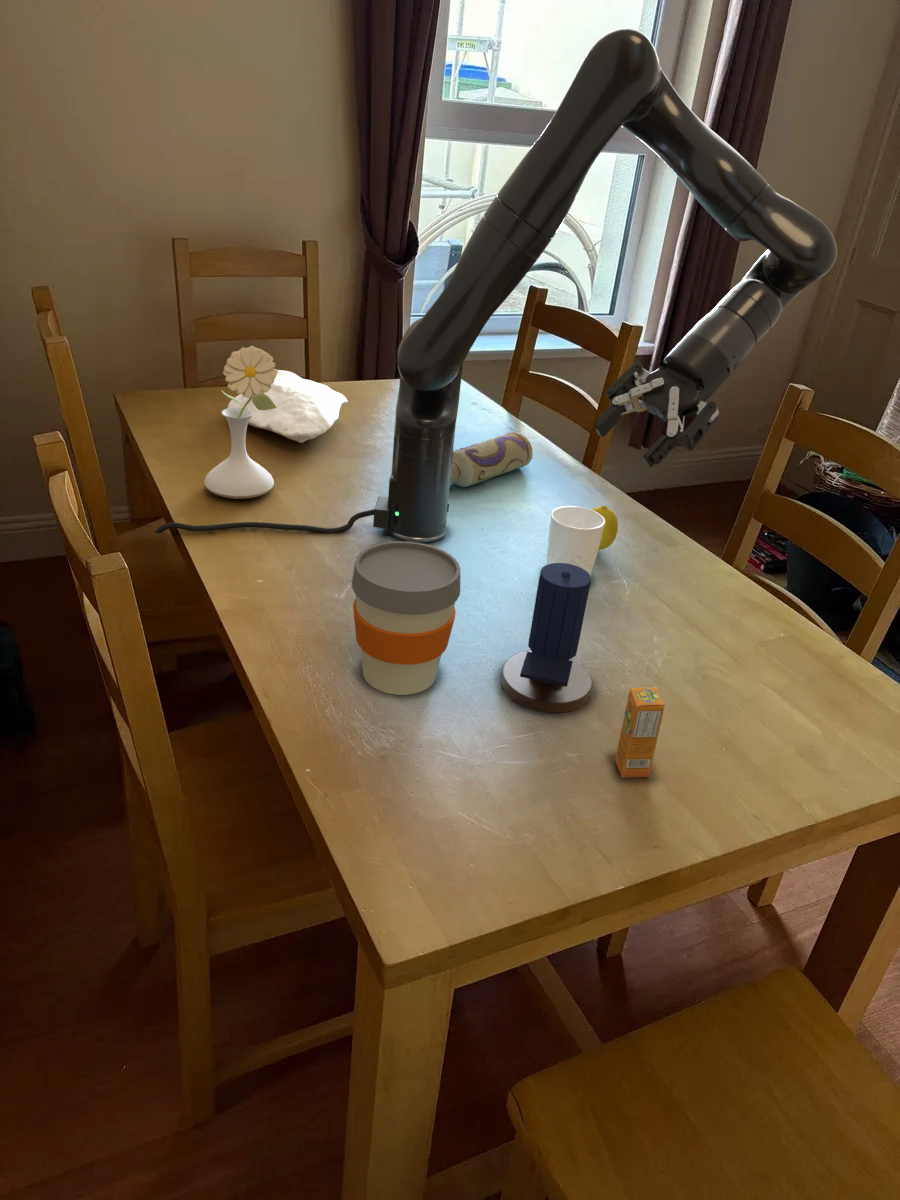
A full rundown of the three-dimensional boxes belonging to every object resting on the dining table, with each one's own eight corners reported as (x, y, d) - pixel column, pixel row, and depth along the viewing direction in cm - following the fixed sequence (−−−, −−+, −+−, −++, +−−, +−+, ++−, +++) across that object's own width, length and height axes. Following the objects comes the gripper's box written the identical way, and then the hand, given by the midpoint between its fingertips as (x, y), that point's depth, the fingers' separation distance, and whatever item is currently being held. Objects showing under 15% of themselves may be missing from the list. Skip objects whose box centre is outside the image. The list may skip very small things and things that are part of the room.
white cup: (597, 572, 137) (609, 513, 132) (587, 595, 130) (599, 533, 125) (548, 560, 139) (558, 501, 134) (535, 582, 132) (545, 521, 127)
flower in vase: (190, 495, 147) (182, 343, 135) (230, 472, 156) (225, 328, 144) (258, 513, 143) (256, 359, 131) (295, 490, 153) (296, 343, 140)
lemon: (611, 561, 140) (621, 515, 136) (577, 555, 141) (585, 509, 137) (613, 546, 145) (622, 501, 141) (579, 541, 146) (587, 496, 142)
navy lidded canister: (532, 630, 110) (545, 555, 104) (579, 640, 109) (594, 564, 103) (518, 676, 101) (530, 596, 96) (568, 687, 100) (584, 607, 95)
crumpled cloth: (322, 389, 197) (316, 349, 192) (384, 444, 171) (380, 399, 165) (218, 412, 189) (209, 370, 184) (266, 473, 162) (258, 426, 157)
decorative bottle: (501, 458, 175) (506, 426, 171) (531, 471, 170) (536, 438, 167) (407, 488, 158) (410, 453, 154) (438, 503, 153) (441, 467, 150)
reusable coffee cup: (413, 718, 101) (423, 605, 94) (326, 677, 107) (329, 567, 99) (469, 669, 111) (482, 563, 103) (387, 633, 116) (394, 530, 109)
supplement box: (611, 758, 99) (628, 685, 94) (641, 758, 99) (660, 685, 94) (618, 778, 96) (637, 704, 91) (649, 779, 96) (669, 705, 91)
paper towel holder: (500, 707, 105) (516, 597, 97) (501, 655, 114) (517, 552, 107) (593, 718, 105) (616, 609, 97) (587, 665, 114) (608, 562, 107)
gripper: (660, 313, 113) (574, 406, 113) (749, 356, 105) (656, 456, 105) (673, 351, 119) (591, 439, 119) (758, 394, 111) (670, 489, 111)
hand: (621, 447), depth 112 cm, fingers open, 8 cm apart
